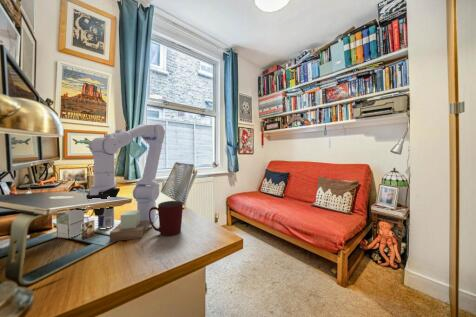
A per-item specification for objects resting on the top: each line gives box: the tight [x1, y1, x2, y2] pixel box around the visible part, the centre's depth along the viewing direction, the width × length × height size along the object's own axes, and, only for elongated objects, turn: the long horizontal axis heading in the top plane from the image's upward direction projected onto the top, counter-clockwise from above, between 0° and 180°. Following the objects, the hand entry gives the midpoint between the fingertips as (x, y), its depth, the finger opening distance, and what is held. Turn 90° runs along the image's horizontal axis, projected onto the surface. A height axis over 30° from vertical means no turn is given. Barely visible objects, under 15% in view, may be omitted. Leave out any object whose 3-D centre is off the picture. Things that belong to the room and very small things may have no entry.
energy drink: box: [97, 206, 115, 229], centre depth 77 cm, size 5×5×12 cm
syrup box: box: [55, 210, 85, 240], centre depth 69 cm, size 6×6×14 cm
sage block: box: [120, 210, 140, 229], centre depth 70 cm, size 5×5×5 cm
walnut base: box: [109, 220, 150, 242], centre depth 71 cm, size 10×10×3 cm
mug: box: [149, 200, 184, 237], centre depth 71 cm, size 12×9×11 cm
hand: (104, 211), depth 65 cm, fingers open, 7 cm apart
